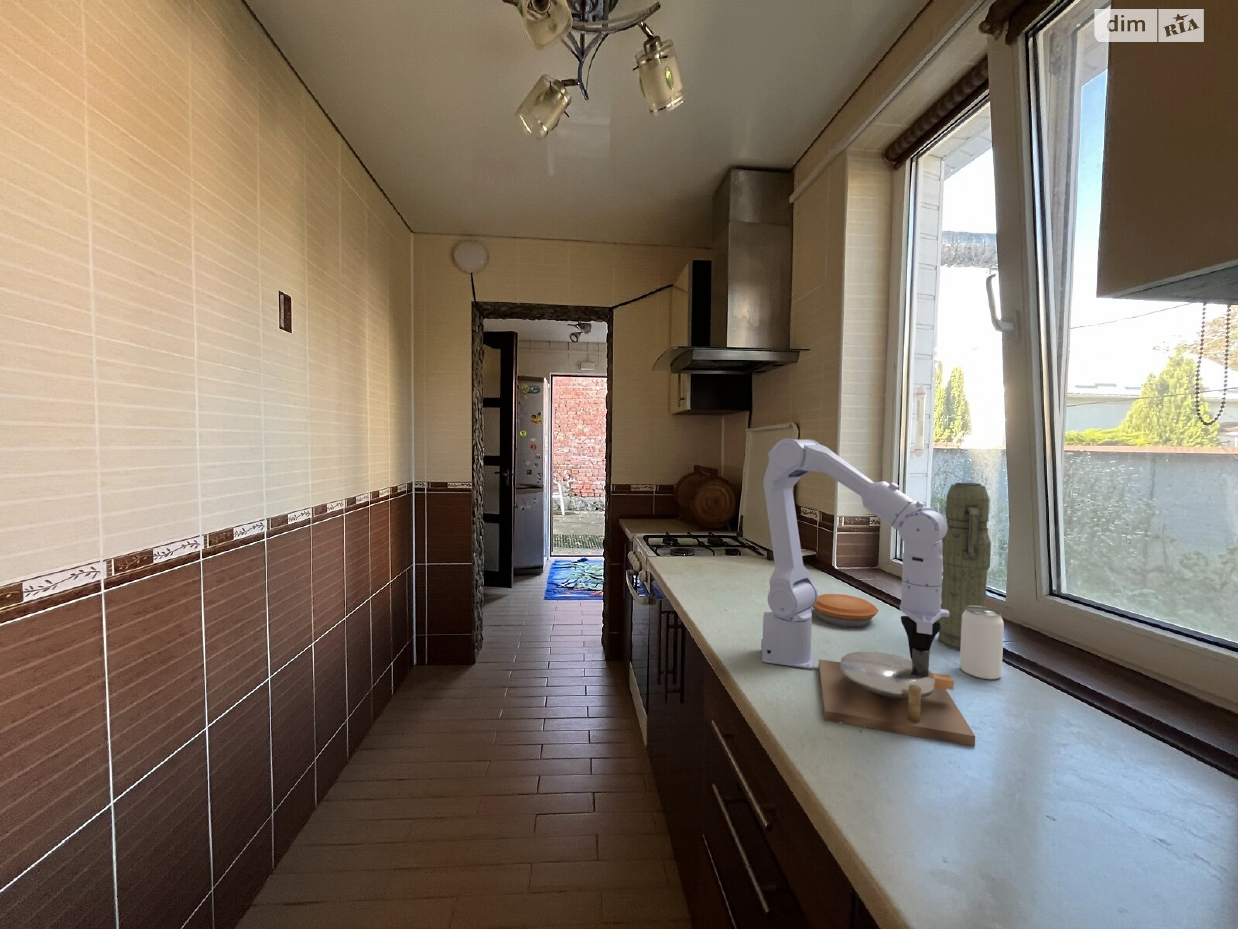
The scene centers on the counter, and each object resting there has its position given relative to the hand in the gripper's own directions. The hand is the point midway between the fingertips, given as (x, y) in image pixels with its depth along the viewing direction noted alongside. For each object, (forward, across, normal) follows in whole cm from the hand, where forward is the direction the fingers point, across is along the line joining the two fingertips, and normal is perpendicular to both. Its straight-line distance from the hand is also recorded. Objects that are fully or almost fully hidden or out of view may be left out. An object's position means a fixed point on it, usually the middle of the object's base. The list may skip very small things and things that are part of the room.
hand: (918, 661), depth 85 cm
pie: (+7, +38, +13) cm, 41 cm away
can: (+7, +18, -12) cm, 22 cm away
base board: (+7, -2, +5) cm, 9 cm away
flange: (+3, -2, +4) cm, 5 cm away
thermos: (+7, +33, -11) cm, 35 cm away
